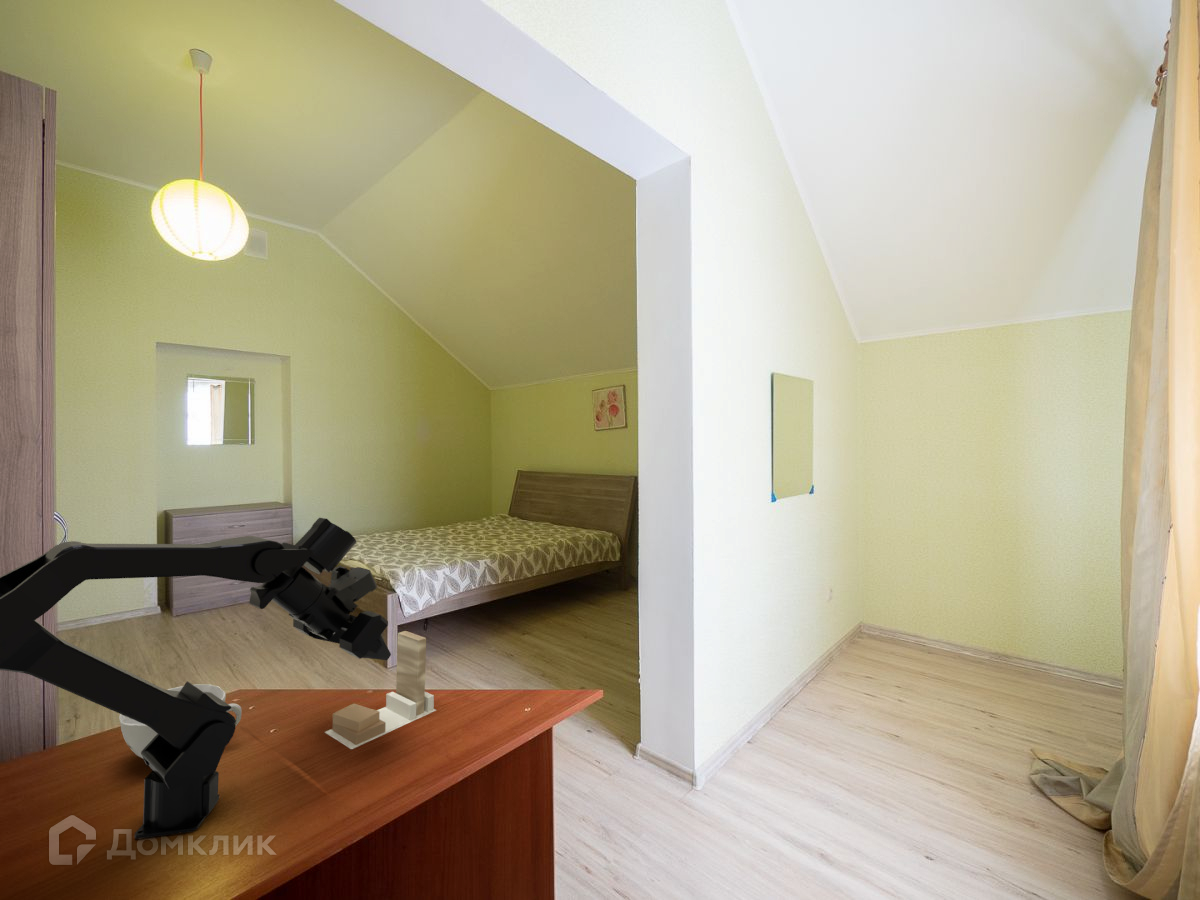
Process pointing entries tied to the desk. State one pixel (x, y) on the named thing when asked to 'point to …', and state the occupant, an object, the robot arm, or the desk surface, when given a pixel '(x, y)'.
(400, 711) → the offcut rack
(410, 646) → the grey brown wooden board
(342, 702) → the desk surface
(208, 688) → the teacup
